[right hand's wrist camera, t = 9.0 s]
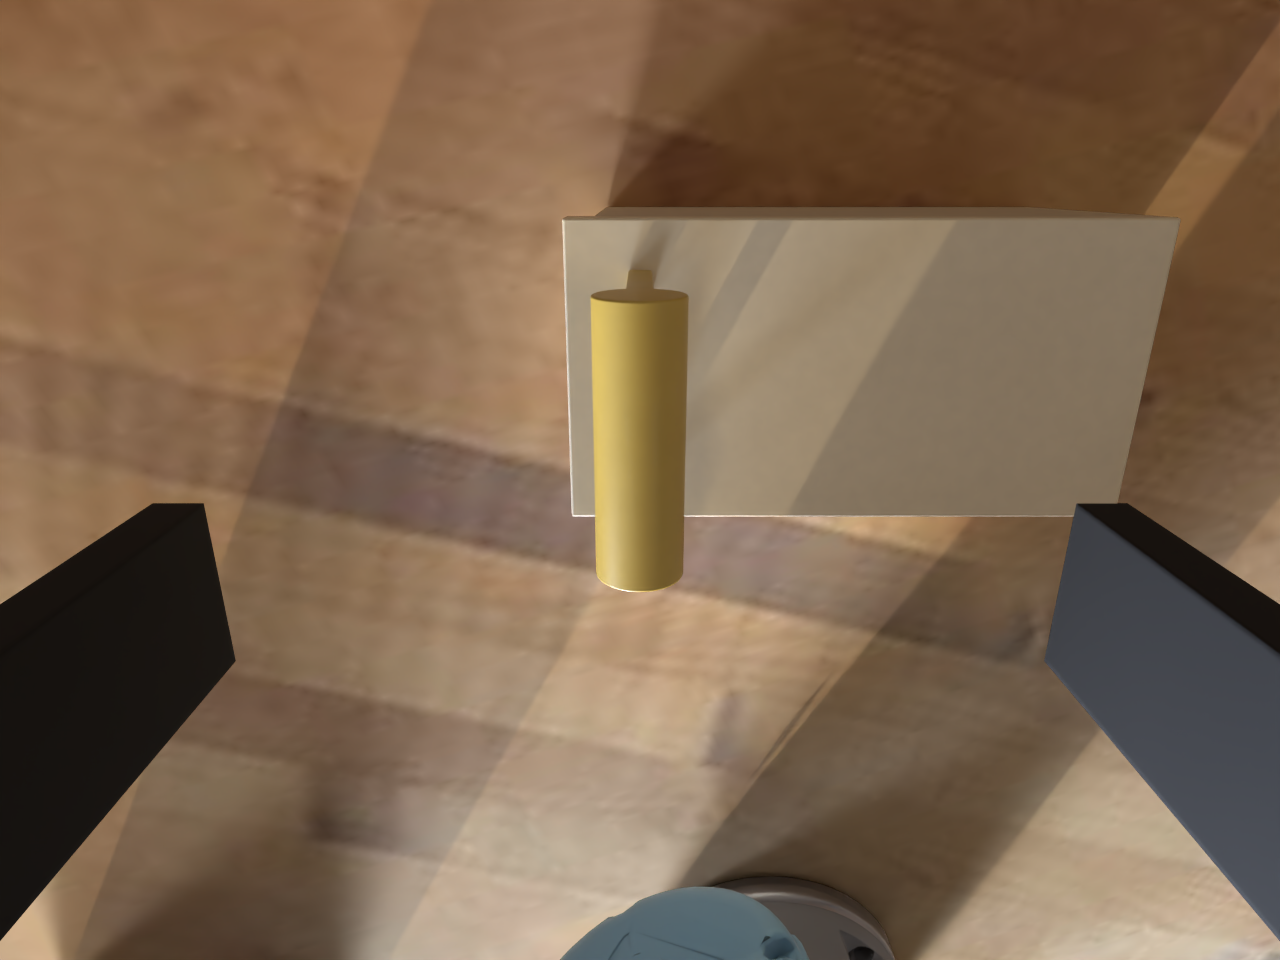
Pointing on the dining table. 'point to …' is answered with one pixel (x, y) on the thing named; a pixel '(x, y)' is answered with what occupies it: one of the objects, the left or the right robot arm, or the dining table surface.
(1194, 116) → the dining table surface
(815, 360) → the lid
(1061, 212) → the chest
